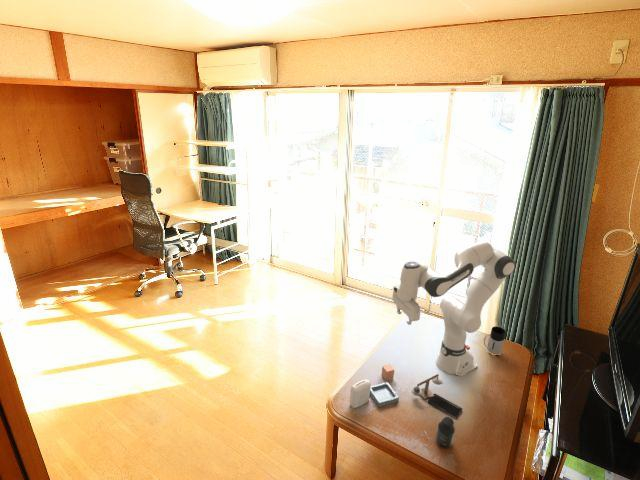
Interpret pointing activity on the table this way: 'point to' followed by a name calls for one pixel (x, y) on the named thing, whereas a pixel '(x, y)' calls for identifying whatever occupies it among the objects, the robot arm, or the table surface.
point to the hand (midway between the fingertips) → (403, 318)
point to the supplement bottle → (445, 432)
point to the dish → (383, 394)
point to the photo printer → (360, 393)
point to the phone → (445, 406)
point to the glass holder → (495, 340)
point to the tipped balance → (426, 387)
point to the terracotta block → (387, 372)
